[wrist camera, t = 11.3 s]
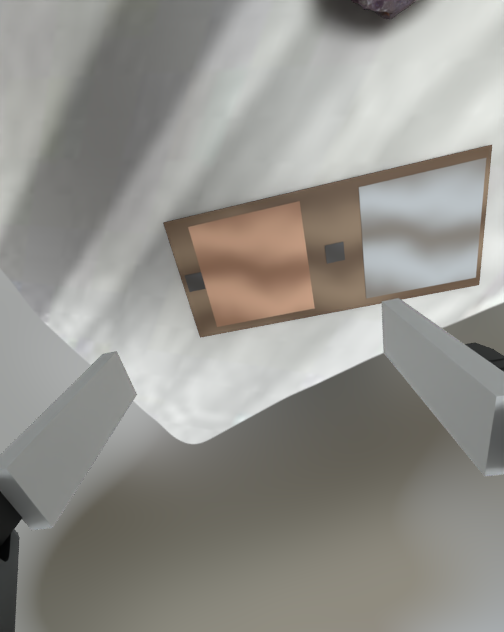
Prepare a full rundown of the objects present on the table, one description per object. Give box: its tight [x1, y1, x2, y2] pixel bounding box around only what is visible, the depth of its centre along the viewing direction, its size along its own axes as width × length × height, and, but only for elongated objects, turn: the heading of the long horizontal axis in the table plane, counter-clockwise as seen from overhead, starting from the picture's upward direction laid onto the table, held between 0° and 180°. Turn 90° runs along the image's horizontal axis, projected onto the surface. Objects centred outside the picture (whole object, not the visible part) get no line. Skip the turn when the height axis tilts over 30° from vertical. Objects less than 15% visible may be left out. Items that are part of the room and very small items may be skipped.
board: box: [163, 145, 492, 337], centre depth 31 cm, size 14×33×1 cm, turn 102°
